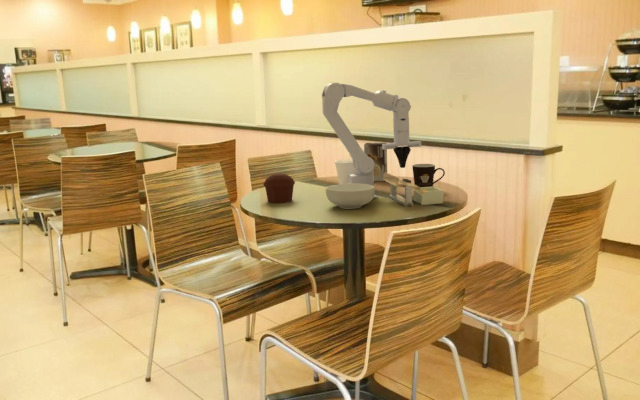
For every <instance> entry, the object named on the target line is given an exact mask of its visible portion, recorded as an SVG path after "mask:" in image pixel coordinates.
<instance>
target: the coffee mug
mask: <svg viewBox="0 0 640 400" xmlns="http://www.w3.org/2000/svg"><path fill="white" fill-rule="evenodd" d="M411 166H412V175H413V181H414V182H413V183H414V185H416V186H419V187H434V185H435V184H436V183H437V182H439V181H440V180H442V178H443V177H444V176H445V175H446V172H445V169H443V168H442V167H437V168H436V164H433V163H416V164H412V165H411ZM438 170H441V171H442V172H443V174H442V176H441V177H439V178H438V179H436V180H435V181H434V177H435V174H436V172H437V171H438Z"/></svg>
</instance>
